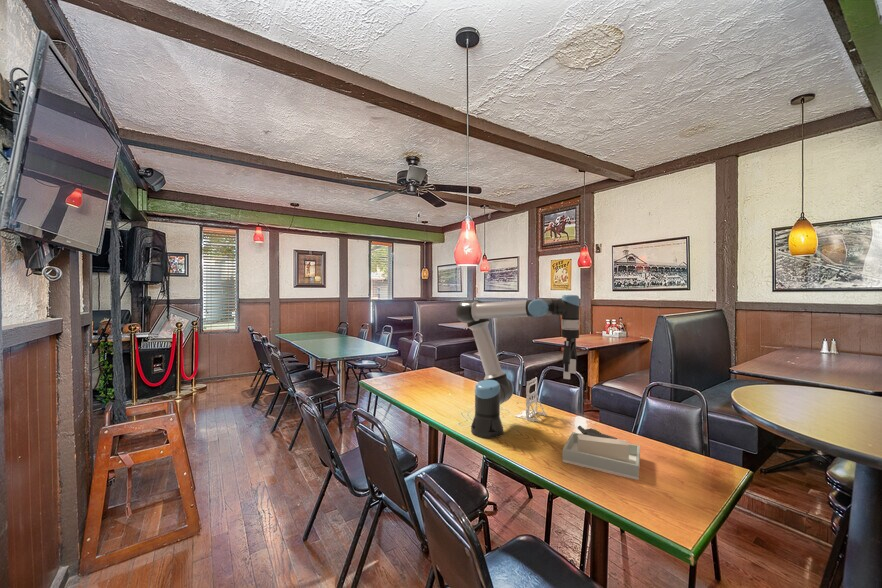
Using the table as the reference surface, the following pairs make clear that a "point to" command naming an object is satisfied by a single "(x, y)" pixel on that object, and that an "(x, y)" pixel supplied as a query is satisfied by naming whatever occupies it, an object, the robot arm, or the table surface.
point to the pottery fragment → (593, 433)
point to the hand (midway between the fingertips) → (569, 376)
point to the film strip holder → (526, 412)
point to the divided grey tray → (602, 459)
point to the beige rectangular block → (603, 447)
